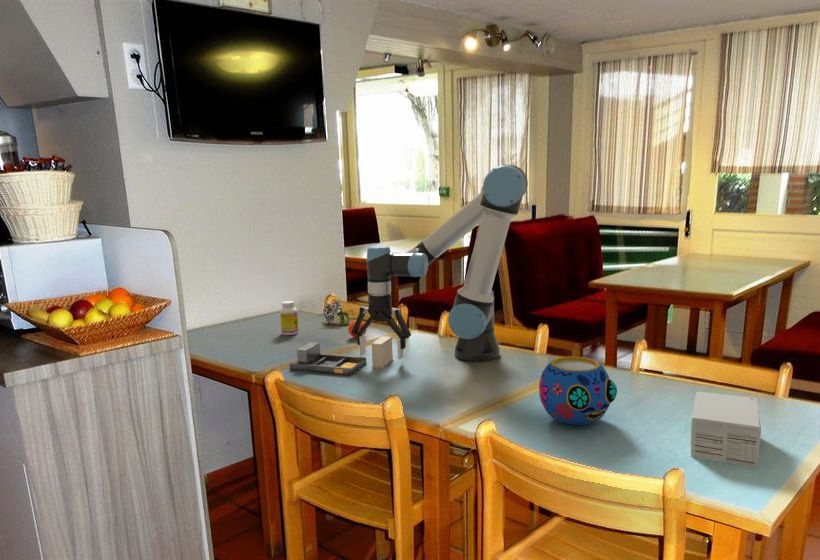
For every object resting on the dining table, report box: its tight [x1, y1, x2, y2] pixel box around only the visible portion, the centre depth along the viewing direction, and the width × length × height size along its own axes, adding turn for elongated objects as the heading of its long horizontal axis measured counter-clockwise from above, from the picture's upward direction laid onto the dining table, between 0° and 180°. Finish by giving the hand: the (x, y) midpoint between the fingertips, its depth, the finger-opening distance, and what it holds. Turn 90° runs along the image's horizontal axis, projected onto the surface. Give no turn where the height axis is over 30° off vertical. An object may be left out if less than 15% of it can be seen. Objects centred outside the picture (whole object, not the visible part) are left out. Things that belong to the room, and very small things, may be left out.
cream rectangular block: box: [370, 335, 394, 369], centre depth 206 cm, size 4×9×8 cm, turn 160°
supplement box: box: [690, 391, 762, 468], centre depth 138 cm, size 17×13×9 cm
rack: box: [289, 341, 367, 376], centre depth 204 cm, size 22×12×7 cm, turn 70°
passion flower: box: [322, 299, 355, 325], centre depth 262 cm, size 11×11×12 cm
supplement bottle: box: [279, 300, 299, 336], centre depth 247 cm, size 7×7×13 cm
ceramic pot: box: [538, 356, 618, 426], centre depth 154 cm, size 18×18×15 cm
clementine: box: [347, 319, 367, 339], centre depth 238 cm, size 8×7×7 cm
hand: (381, 356), depth 206 cm, fingers open, 13 cm apart
